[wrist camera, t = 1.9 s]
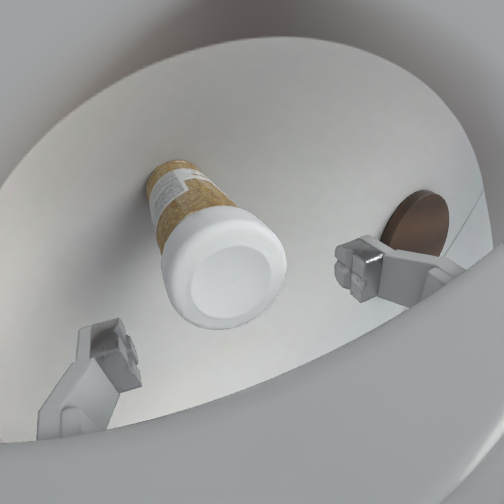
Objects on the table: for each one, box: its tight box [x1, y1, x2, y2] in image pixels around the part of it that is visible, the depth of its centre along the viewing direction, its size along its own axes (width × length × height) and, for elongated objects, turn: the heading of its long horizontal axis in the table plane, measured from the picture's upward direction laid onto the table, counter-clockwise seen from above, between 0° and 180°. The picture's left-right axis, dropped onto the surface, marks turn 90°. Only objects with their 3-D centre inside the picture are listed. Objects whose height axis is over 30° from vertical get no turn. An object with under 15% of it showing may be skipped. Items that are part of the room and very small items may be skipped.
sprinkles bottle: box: [146, 160, 287, 330], centre depth 16 cm, size 5×5×14 cm
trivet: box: [380, 190, 449, 257], centre depth 35 cm, size 14×14×2 cm
